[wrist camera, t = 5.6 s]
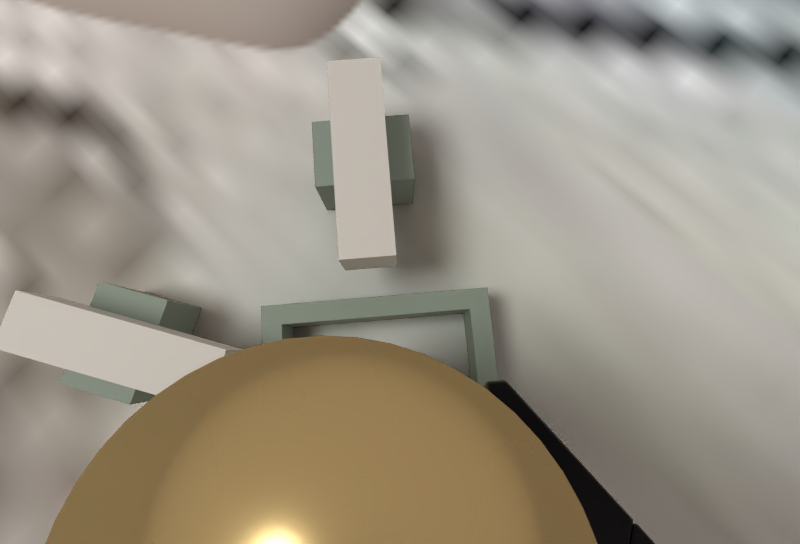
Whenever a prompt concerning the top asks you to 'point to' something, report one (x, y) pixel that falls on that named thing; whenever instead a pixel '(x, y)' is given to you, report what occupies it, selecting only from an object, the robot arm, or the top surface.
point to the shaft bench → (174, 321)
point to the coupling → (323, 458)
